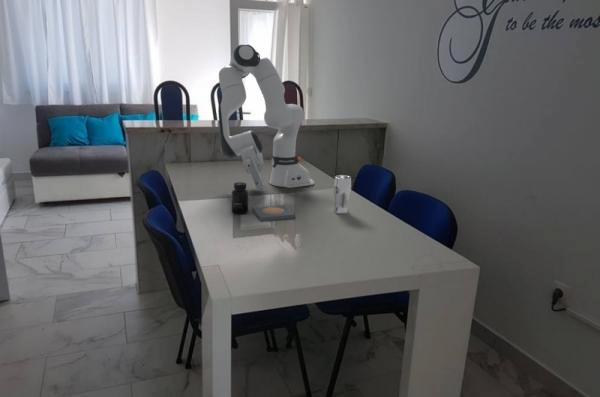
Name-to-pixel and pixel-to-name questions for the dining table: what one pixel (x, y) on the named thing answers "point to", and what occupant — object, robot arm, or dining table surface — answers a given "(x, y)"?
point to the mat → (273, 212)
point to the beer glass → (342, 193)
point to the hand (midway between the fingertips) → (253, 174)
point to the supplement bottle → (239, 199)
